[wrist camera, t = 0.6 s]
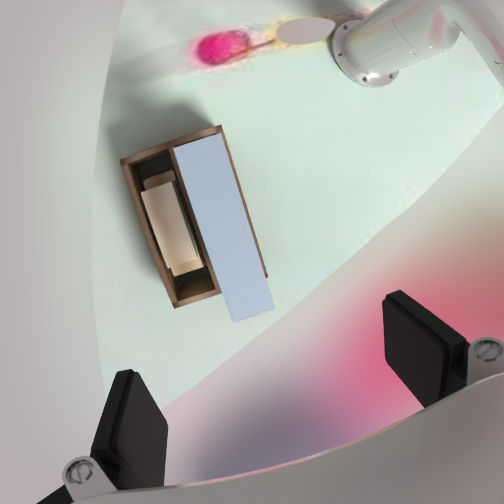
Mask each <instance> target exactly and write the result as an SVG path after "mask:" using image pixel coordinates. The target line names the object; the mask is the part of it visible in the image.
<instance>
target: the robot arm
mask: <svg viewBox="0 0 504 504" xmlns="http://www.w3.org/2000/svg"><path fill="white" fill-rule="evenodd" d="M460 30H461V31H462V32H463V33H464V34H465V36H466V37H467V38H468V39H469V40H470V42H471V43H472V44H473V46H474V47H475V48H476V50H477V51H478V53H479V54H480V55H481V57H482V58H483V60H484V61H485V63H486V64H487V66H488V67H489V69H490V70H491V72H492V73H493V75H494V76H495V78H496V79H497V80H498V82H499V83H500V84H501V85H502V86H503V87H504V0H387V1H386V2H384V3H383V4H382V5H381V6H379V7H378V8H377V9H375V10H374V11H373V12H372V13H370V14H369V15H368V16H366V17H365V18H364V19H363V20H350V21H347V22H345V23H343V24H342V25H340V26H339V27H338V28H337V30H336V31H335V33H334V35H333V38H332V51H333V54H334V57H335V60H336V61H337V63H338V65H339V66H340V68H341V69H342V71H343V72H344V73H345V74H346V75H347V76H348V77H350V78H351V79H352V80H354V81H355V82H357V83H359V84H361V85H364V86H367V87H382V86H385V85H388V84H390V83H391V82H392V81H394V79H395V78H396V77H397V75H398V73H399V69H402V68H404V67H407V66H409V65H412V64H414V63H417V62H419V61H422V60H424V59H427V58H429V57H432V56H435V55H437V54H440V53H443V52H445V51H447V50H449V49H450V48H451V47H452V46H453V45H454V44H455V43H456V41H457V39H458V37H459V34H460ZM382 309H383V324H384V345H385V359H386V361H387V363H388V365H389V366H390V367H391V368H392V370H393V371H394V372H395V373H396V374H397V375H398V377H399V378H400V379H401V380H402V381H403V383H404V384H405V385H406V386H407V387H408V389H409V390H410V391H411V392H412V393H413V395H414V396H415V397H416V398H417V400H418V401H419V402H420V403H421V404H422V405H423V407H424V409H422V410H420V411H418V412H416V413H415V414H412V415H410V416H408V417H406V418H404V419H402V420H400V421H398V422H396V423H393V424H392V425H389V426H387V427H385V428H382V429H380V430H378V431H375V432H373V433H371V434H368V435H366V436H364V437H361V438H358V439H356V440H353V441H351V442H348V443H345V444H343V445H340V446H338V447H335V448H332V449H329V450H326V451H323V452H320V453H317V454H314V455H311V456H308V457H304V458H301V459H298V460H295V461H291V462H288V463H284V464H280V465H277V466H273V467H269V468H265V469H261V470H257V471H252V472H248V473H244V474H239V475H234V476H229V477H224V478H219V479H213V480H207V481H201V482H194V483H186V484H179V485H171V486H164V475H165V461H166V448H167V437H168V424H167V422H166V419H165V418H164V416H163V414H162V413H161V411H160V409H159V408H158V406H157V404H156V403H155V401H154V399H153V398H152V396H151V394H150V392H149V391H148V389H147V387H146V385H145V383H144V382H143V380H142V378H141V376H140V374H139V373H138V372H134V371H133V370H132V369H128V370H123V371H118V372H117V373H116V375H115V378H114V381H113V384H112V387H111V389H110V392H109V395H108V398H107V401H106V404H105V407H104V410H103V413H102V416H101V419H100V422H99V425H98V428H97V431H96V434H95V438H94V441H93V444H92V447H91V454H90V457H89V456H81V457H77V458H75V459H73V460H72V461H70V462H69V463H68V464H67V465H66V466H65V468H64V471H63V473H62V478H63V482H64V485H63V486H62V487H60V488H59V489H57V490H56V491H54V492H53V493H51V494H50V495H49V496H47V497H46V498H44V499H43V500H42V501H40V502H38V503H37V504H504V343H503V342H502V341H500V340H498V339H496V338H490V337H484V338H480V339H477V340H475V341H474V342H472V343H471V344H470V343H468V342H467V341H466V339H465V338H464V337H463V336H462V335H460V334H459V333H458V332H456V331H455V330H454V329H453V328H451V327H450V326H449V325H447V324H446V323H445V322H443V321H442V320H441V319H439V318H438V317H437V316H435V315H434V314H433V313H431V312H430V311H429V310H427V309H426V308H424V307H423V306H422V305H421V304H419V303H418V302H416V301H415V300H414V299H412V298H411V297H410V296H408V295H407V294H405V293H404V292H403V291H401V290H397V291H395V292H392V293H390V294H387V295H386V297H385V299H384V300H383V301H382Z"/></svg>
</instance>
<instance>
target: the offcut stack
mask: <svg viewBox="0 0 504 504" xmlns="http://www.w3.org/2000/svg"><path fill="white" fill-rule="evenodd" d="M143 183H144V186H145V189H146V191H144V192H141V195H142V198H143V201H144V204H145V207H146V210H147V213H148V216H149V219H150V222H151V224H152V227H153V230H154V233H155V236H156V238H157V241H158V244H159V247H160V249H161V252H162V255H163V257H164V260H165V262H166V265H167V268H170V267H171V270H172V272H173V275H174V276H177V275H180V274H184V273H187V272H190V271H193V270H196V269H199V268H202V267H203V265H205V259H204V256H203V253H202V251H201V248H200V245H199V242H198V239H197V236H196V233H195V230H194V227H193V224H192V221H191V219H190V216H189V213H188V210H187V207H186V204H185V200H184V197H183V194H182V191H181V188H180V185H179V182H178V179H177V176H176V173H175V170H170V171H167V172H164V173H162V174H159V175H156V176H153V177H151V178H148V179H145V180H143Z"/></svg>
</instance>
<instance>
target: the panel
mask: <svg viewBox="0 0 504 504" xmlns="http://www.w3.org/2000/svg"><path fill="white" fill-rule="evenodd" d="M173 149H174V153H175V156H176V159H177V162H178V165H179V168H180V171H181V175H182V178H183V181H184V184H185V187H186V190H187V193H188V196H189V199H190V202H191V205H192V208H193V211H194V214H195V217H196V220H197V223H198V226H199V229H200V232H201V235H202V238H203V240H204V243H205V246H206V249H207V252H208V255H209V258H210V260H211V263H212V266H213V269H214V272H215V275H216V277H217V280H218V283H219V286H220V288H221V291H222V294H223V297H224V299H225V302H226V305H227V308H228V310H229V313H230V316H231V318H232V321H233V323H235V322H238V321H241V320H244V319H247V318H250V317H253V316H256V315H259V314H261V313H264V312H267V311H270V310H273V309H275V307H274V304H273V300H272V297H271V294H270V290H269V287H268V284H267V281H266V277H265V274H264V271H263V268H262V264H261V261H260V258H259V254H258V251H257V248H256V245H255V241H254V238H253V235H252V232H251V228H250V225H249V222H248V219H247V216H246V212H245V209H244V206H243V203H242V199H241V196H240V193H239V190H238V186H237V183H236V180H235V177H234V174H233V170H232V167H231V164H230V161H229V157H228V154H227V151H226V148H225V145H224V141H223V138H222V135H221V133H219V134H216V135H213V136H209V137H206V138H203V139H200V140H197V141H194V142H191V143H188V144H185V145H182V146H179V147H176V148H173Z"/></svg>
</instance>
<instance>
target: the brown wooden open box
mask: <svg viewBox="0 0 504 504" xmlns="http://www.w3.org/2000/svg"><path fill="white" fill-rule="evenodd" d="M219 133H221V135H222V138H223V141H224V145H225V148H226V151H227V154H228V157H229V161H230V164H231V167H232V170H233V174H234V177H235V180H236V183H237V186H238V190H239V193H240V196H241V199H242V203H243V206H244V209H245V212H246V216H247V219H248V222H249V225H250V228H251V232H252V235H253V238H254V241H255V245H256V248H257V251H258V254H259V258H260V261H261V264H262V268H263V271H264V274H265V277H266V278H268V275H267V272H266V268H265V265H264V262H263V258H262V255H261V252H260V248H259V245H258V242H257V239H256V235H255V232H254V229H253V226H252V222H251V219H250V216H249V212H248V209H247V206H246V203H245V199H244V196H243V193H242V190H241V186H240V183H239V180H238V177H237V174H236V170H235V167H234V164H233V161H232V157H231V154H230V151H229V148H228V145H227V141H226V138H225V135H224V132H223V129H222V125H218V126H215V127H211V128H208V129H205V130H202V131H199V132H196V133H192V134H189V135H186V136H183V137H180V138H177V139H175V140H172V141H169V142H166V143H163V144H160V145H158V146H155V147H152V148H149V149H147V150H144V151H141V152H139V153H136V154H134V155H131V156H129V157H126V158H124V159H121V160H120V163H121V166H122V170H123V173H124V176H125V179H126V182H127V185H128V188H129V191H130V194H131V197H132V200H133V203H134V206H135V209H136V212H137V215H138V218H139V220H140V223H141V226H142V229H143V231H144V234H145V237H146V240H147V242H148V245H149V248H150V250H151V253H152V255H153V258H154V261H155V263H156V266H157V268H158V271H159V273H160V276H161V278H162V281H163V283H164V286H165V288H166V290H167V293H168V295H169V298H170V300H171V302H172V305H173V307H174V309H175V308H178V307H181V306H184V305H187V304H190V303H193V302H196V301H199V300H202V299H206V298H209V297H212V296H215V295H218V294H221V293H222V291H221V288H220V286H219V283H218V280H217V277H216V275H215V272H214V269H213V266H212V263H211V260H210V258H209V255H208V252H207V249H206V246H205V243H204V240H203V238H202V235H201V232H200V229H199V226H198V223H197V220H196V217H195V214H194V211H193V208H192V205H191V202H190V199H189V196H188V193H187V190H186V187H185V184H184V181H183V178H182V175H181V171H180V168H179V165H178V162H177V159H176V156H175V153H174V149H173V148H176V147H179V146H182V145H185V144H188V143H191V142H194V141H197V140H200V139H203V138H206V137H209V136H213V135H216V134H219ZM166 153H170V156H171V159H172V163H173V166H174V169H175V172H176V175H177V178H178V181H179V184H180V187H181V190H182V193H183V196H184V199H185V202H186V205H187V208H188V211H189V214H190V217H191V220H192V223H193V226H194V229H195V232H196V235H197V238H198V241H199V243H200V246H201V249H202V252H203V255H204V258H205V260H206V263H207V266H208V269H209V272H210V274H211V276H209V277H206V278H203V279H200V280H197V281H194V282H191V283H188V284H185V285H182V286H180V285H179V282H178V280H177V277H176V276H174V275H173V272H172V270H171V267H170V268H167V265H166V262H165V260H164V257H163V255H162V252H161V249H160V247H159V244H158V241H157V238H156V236H155V233H154V230H153V227H152V224H151V222H150V219H149V216H148V213H147V210H146V207H145V204H144V201H143V198H142V195H141V192H144V191H145V189H144V186H143V183H142V180H141V177H140V173H139V170H138V167H137V164H139V163H142V162H145V161H147V160H150V159H153V158H155V157H158V156H161V155H164V154H166Z"/></svg>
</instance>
